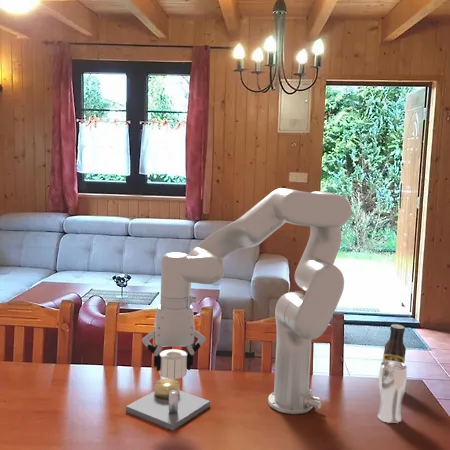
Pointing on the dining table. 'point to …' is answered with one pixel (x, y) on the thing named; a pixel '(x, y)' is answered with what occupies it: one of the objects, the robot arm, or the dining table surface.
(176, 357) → the ring
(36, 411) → the dining table surface
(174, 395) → the pin
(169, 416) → the board
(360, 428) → the dining table surface
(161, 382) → the brass disc
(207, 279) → the robot arm
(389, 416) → the beer glass
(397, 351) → the sauce bottle
